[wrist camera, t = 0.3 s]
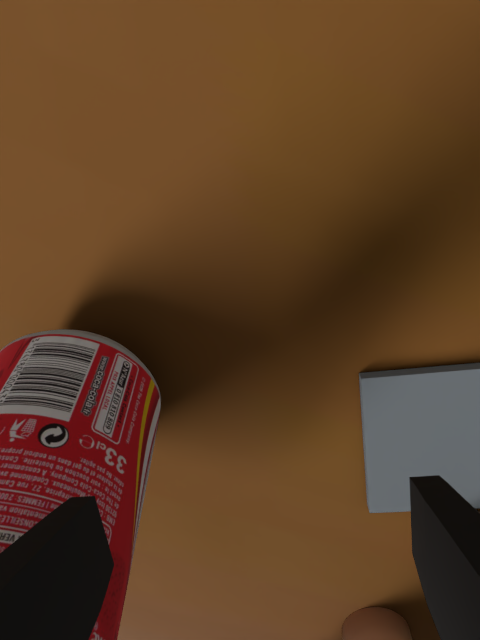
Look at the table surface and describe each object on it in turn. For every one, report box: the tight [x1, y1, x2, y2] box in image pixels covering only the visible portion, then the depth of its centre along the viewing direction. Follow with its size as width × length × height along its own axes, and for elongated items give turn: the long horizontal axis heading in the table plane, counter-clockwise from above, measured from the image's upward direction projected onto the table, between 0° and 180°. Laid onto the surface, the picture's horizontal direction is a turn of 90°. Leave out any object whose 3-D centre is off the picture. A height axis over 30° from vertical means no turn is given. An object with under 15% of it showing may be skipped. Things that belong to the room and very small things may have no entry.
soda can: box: [0, 329, 161, 640], centre depth 14 cm, size 7×7×13 cm
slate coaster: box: [359, 363, 480, 513], centre depth 19 cm, size 7×7×1 cm
